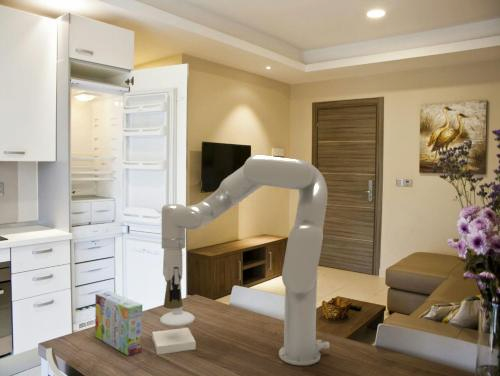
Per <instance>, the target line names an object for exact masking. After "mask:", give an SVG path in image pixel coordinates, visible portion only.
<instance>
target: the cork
mask: <svg viewBox="0 0 500 376" xmlns="http://www.w3.org/2000/svg"><path fill="white" fill-rule="evenodd" d="M179 276H180V275H179ZM180 277H181V276H180ZM164 280H165V282H166V286H165V287H166V288H165V293H164V294H165V295H164V300H163V301H164V302H163V308H165V309H170V310H173V309H176V308H180V307H182V308H183V298H182V287H181V288H180V301H178V300H173V299H172V302H170V301H169V289H170V280H169V281H167V280H166V279H165V278H164ZM172 280H174V278H172ZM180 281H181V282H182V279H181V280H180V279H179V285H180ZM173 283H174V282H172V284H173Z"/></svg>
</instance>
